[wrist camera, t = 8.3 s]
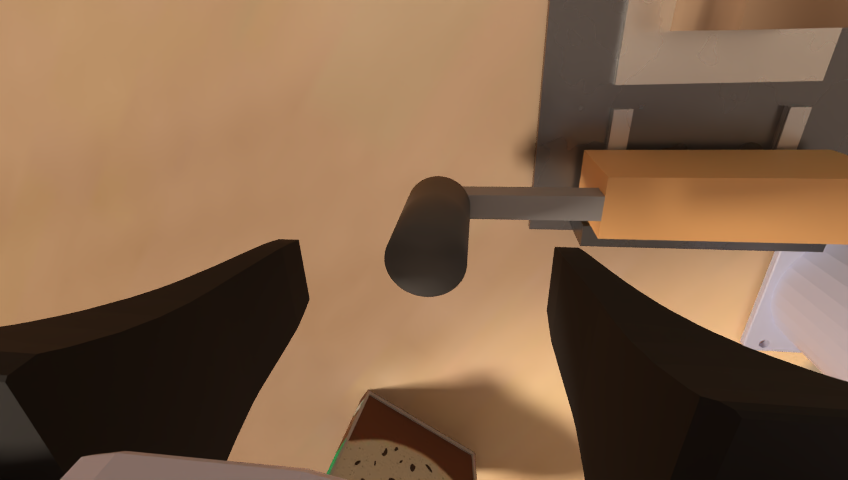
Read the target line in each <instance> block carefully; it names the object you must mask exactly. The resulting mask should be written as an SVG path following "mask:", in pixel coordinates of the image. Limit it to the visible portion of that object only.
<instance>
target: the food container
mask: <svg viewBox="0 0 848 480" xmlns="http://www.w3.org/2000/svg"><path fill="white" fill-rule="evenodd" d="M327 474H329V475H332V476H336V477H340V478H343V479H347V480H477V474H476V461H475V453H474V452H473V451H471V450H469V449H467V448H466V447H464V446H462V445H461V444H459V443H457V442H456V441H454V440H452V439H451V438H449V437H447V436H446V435H444V434H442V433H440V432H439V431H437V430H435V429H434V428H432V427H430V426H429V425H427V424H425V423H424V422H422V421H420V420H418V419H417V418H415V417H413V416H412V415H410V414H408V413H407V412H405V411H403V410H402V409H400V408H398V407H397V406H395V405H393V404H391V403H390V402H388V401H386V400H385V399H383V398H381V397H380V396H378V395H376V394H375V393H373V392H371V391H370V390H368V391H367V392H366V393H365V395H364V396H363V397H362V399H361V401H360V403H359V405H358V407H357V409H356V411H355V414H354V416H353V418H352V420H351V422H350V424H349V427H348V429H347V431H346V433H345V435H344V437H343V440H342V442H341V444H340V446H339V448H338V450H337V453H336V455H335V457H334V459H333V461H332V463H331V465H330V468H329V470H328V472H327Z"/></svg>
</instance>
